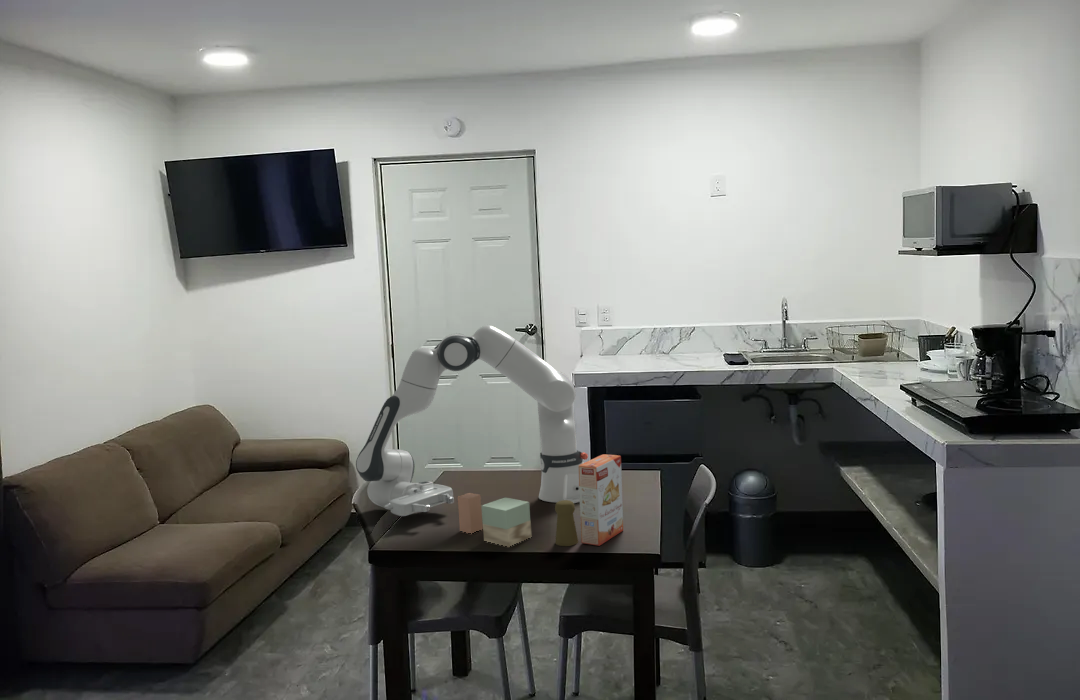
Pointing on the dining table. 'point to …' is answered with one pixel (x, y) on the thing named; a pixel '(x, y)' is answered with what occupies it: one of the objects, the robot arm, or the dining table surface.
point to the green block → (505, 513)
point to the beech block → (507, 534)
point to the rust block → (470, 512)
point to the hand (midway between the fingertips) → (440, 504)
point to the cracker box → (600, 499)
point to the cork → (565, 524)
